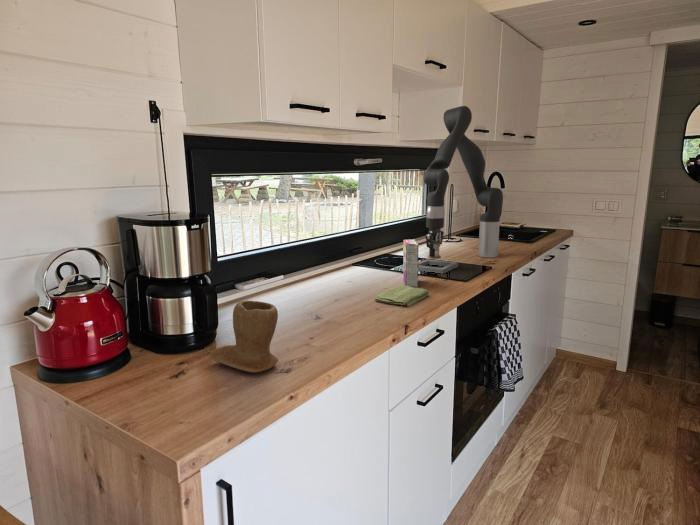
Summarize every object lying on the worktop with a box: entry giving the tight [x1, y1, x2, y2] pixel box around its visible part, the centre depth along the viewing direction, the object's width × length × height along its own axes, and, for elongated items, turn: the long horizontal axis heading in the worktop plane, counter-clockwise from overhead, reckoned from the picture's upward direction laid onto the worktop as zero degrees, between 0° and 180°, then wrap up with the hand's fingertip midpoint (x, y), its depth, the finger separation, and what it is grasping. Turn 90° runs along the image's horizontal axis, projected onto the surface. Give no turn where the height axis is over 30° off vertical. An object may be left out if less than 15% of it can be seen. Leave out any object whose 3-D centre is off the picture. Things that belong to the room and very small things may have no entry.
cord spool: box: [427, 241, 442, 260], centre depth 208 cm, size 6×6×7 cm
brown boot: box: [208, 300, 279, 373], centre depth 111 cm, size 15×12×15 cm
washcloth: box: [374, 284, 430, 307], centre depth 164 cm, size 13×18×3 cm
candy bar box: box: [402, 238, 419, 288], centre depth 183 cm, size 11×5×16 cm, turn 179°
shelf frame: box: [418, 258, 459, 275], centre depth 209 cm, size 17×15×2 cm
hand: (434, 255), depth 208 cm, fingers closed on cord spool, 4 cm apart
